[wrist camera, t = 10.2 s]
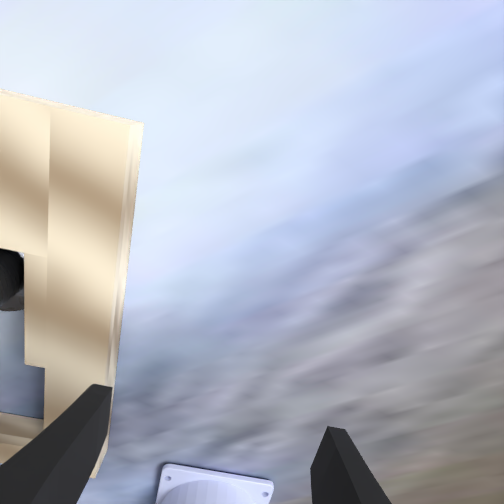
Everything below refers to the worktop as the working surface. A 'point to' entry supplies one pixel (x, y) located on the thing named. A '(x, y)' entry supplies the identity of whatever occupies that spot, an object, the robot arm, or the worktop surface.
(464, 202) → the worktop surface
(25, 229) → the keyhole board
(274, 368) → the worktop surface
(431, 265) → the worktop surface
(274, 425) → the worktop surface
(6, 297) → the peg
